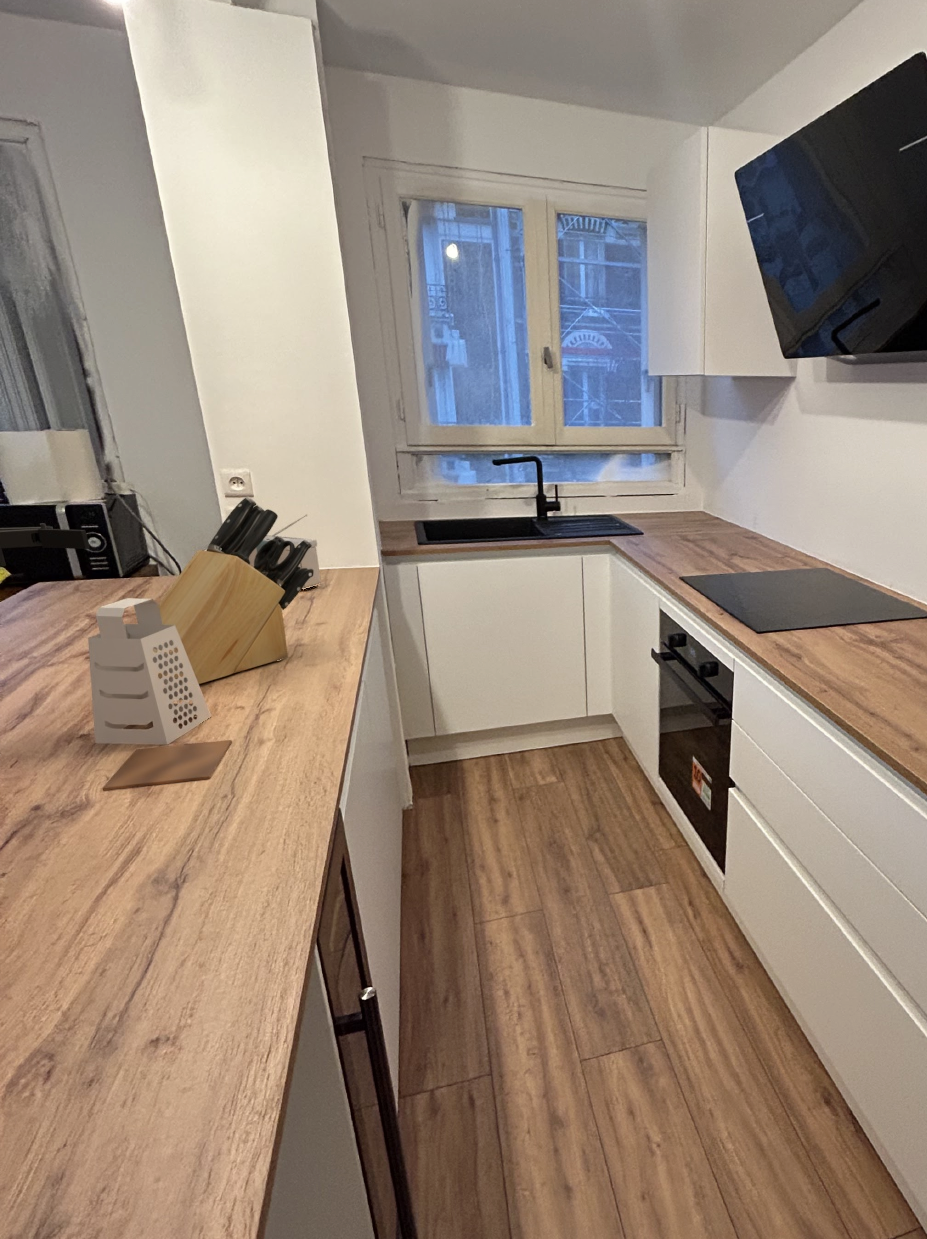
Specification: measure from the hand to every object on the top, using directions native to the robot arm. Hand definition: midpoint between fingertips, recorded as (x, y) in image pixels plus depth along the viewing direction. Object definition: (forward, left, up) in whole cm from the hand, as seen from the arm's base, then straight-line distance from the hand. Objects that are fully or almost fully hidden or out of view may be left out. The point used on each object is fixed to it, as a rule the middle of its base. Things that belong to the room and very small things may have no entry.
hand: (46, 547), depth 101 cm
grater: (+8, -2, -28) cm, 30 cm away
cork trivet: (+14, -16, -28) cm, 35 cm away
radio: (+9, +99, -28) cm, 103 cm away
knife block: (+12, +28, -28) cm, 41 cm away
